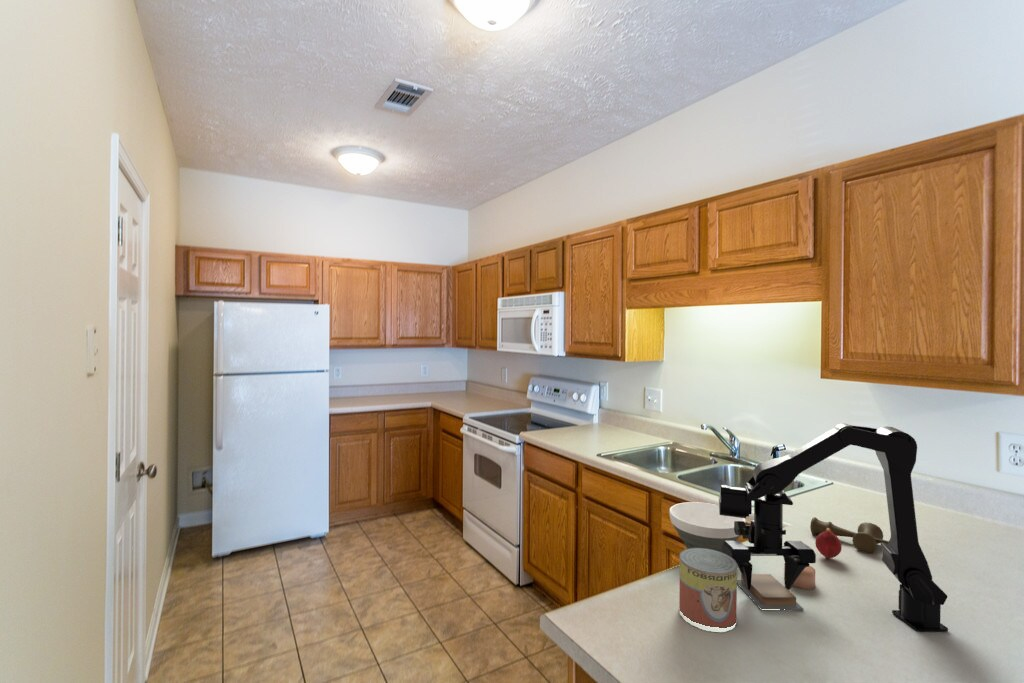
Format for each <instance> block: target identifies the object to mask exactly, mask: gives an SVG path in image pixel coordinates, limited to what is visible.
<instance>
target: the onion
mask: <svg viewBox="0 0 1024 683" xmlns="http://www.w3.org/2000/svg"><path fill="white" fill-rule="evenodd" d="M814 544H815V547H816V549H817V551H818V552H819V554H820V555H822V556H823V557H825V559H828V560H829V559H832V558H835V557H838V556H839V555H840V553H842V550H843V549H842V548H843V547H842V542H841V540H840V538H839V536H836V535H835V534H833V533H832V532H831V530H830V529H829V528H827V529H826V531H825V532H822V533H820V534H817V536H816V538H815V542H814Z"/></svg>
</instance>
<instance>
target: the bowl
mask: <svg viewBox="0 0 1024 683" xmlns="http://www.w3.org/2000/svg"><path fill="white" fill-rule="evenodd" d="M669 517H670V518H669V519H670V522H671V524H672V526H673V527H674V529H675V531H676V532H677V534H678V537H679V538H680V539H681V540H682V541H683V544H684V546H685V548H686V549H689V548H707V549H712V550H716V551H719V552H722V544H723V543H724V541H739V539H740V538H741V537H742V535H736V534H735V531H734V521H744V522H745V523H746V518H739V517H731V516H723V515H719V504H715V503H714V504H713V503H709V502H701V501H700V502H699V501H697V502H696V501H691V502H690V501H689V502H688V501H686V502H681V503H676V504H674V505H672V506H671V507H669ZM722 553H723V552H722Z"/></svg>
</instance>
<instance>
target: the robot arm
mask: <svg viewBox="0 0 1024 683" xmlns="http://www.w3.org/2000/svg"><path fill="white" fill-rule="evenodd" d="M850 446H856V447H860V448H864V449H868V450H872V451H875V454H876V457H877V459H878V461H879V463H880V466H881V468H882V470H883V474H884V475H883V476H884V484H885V493H886V502H887V503H886V504H887V512H888V521H889V529H890V530H889V531H890V538H889V540H888V541H889V542H888V544H887V543H879V544H880V547H881V548H880V549H881V551H882V557H881V561H882V563H883V564H884V565H885V566H886V568H887V569H888V570H889V571H890V572H891V574H892V575H893V576H894V577H895V579H897V581H898V582H899V583H900V584H899V590H898V609H897V610H896V609H892V610H891V613H892V614H893V615H894V616H896V617H897V618H898V619H900V620H901V621H903V622H904V623H905V624H906V625H908V626H909V627H911V628H912V629H913V630H915V631H917V632H948V630H949V627H947V626H945V625H944V624H943V623H941V612H942V611H941V606H943V605H945V603H946V600H947V599H948V594H946V593H945V591H943V589H942V588H940V586H938V585H937V584H936V582H934V580H933V575H932V571H931V570H930V566H929V563H928V560H927V558H926V556H925V554H924V552H923V549H922V547H921V545H920V543H919V534H918V527H917V516H916V508H915V500H914V489H913V483H912V472H913V470H914V467H915V465H916V462H917V454H918V444H917V441H916V439H915V438H914V436H912V435H910V434H909V433H907V432H905V431H903V430H900V429H898V428H895V427H893V426H881V427H879V428H874V427H868V426H860V425H851V424H848V423H839V424H836V425H835V426H834V427H833V428H832V429H830V430H827V431H826V432H825V433H823V434H822V435H819V436H817V437H816V438H815V439H812V440H811V441H809V442H808V443H805V444H804V445H802V446H800V447H799V448H796V449H795V450H794V451H792V452H790V453H788V454H786V455H784V456H779V457H774V458H771V459H769V460H765V461H762V462H760V463H759V464H756V466H754V469H753V471H752V476H751V477H750V478H749V479H748V480H747V481H746V483H744V485H743V487H736V486H729V485H726V484H720V485H719V495H718V505H719V515H723V516H731V517H739V518H745V519H747V517H750V515H752V511H753V519H750V524H746V522H744V521H734V531H735V534H736V535H741V537H742V539H743V540H747V539H748V540H747V542H748V543H749V544H753V546H750V545H749V546H746V545H745V544H744V543H743V542H741V541H740V540H737V541H724V543H723V544H722V552H723V553H725V554H727V555H729V556H730V557H732V558H733V559H734V560H735V561H736V562H737V568H738V569H739V571H740V574H741V575H742V578H743V581H744V583H745V586H746V588H747V589H748V590H750V587H751V578H752V574H753V564H752V563H751V562H750V561H752V557H754V556H755V557H761V556H762V557H763V556H765V557H774V556H775V557H777V556H778V557H780V556H781V557H783V559H784V563H785V579H784V578H783V580H784V587H785V588H786V589H788V590H789V591H790V589H791V588H792V587H793V586H792V585H793V583H794V582H795V580H796V579H797V577H798V576H799V575H800V573H801V572H802V571H803V570H804V569H805V567H809V565H810V566H811V564H816V562H817V554H816V552H815V550H814V549H813V548H812V547H810V546H809V545H807V544H806V543H804V542H803V541H802V540H785V541H784V542H783V535H785V536H786V535H787V530H786V529H785V528H784V527H783V523H784V522H783V519H784V518H783V513H784V512H783V511H784V510H783V508H784V507H783V506H784V505H787V506H793V505H794V502H793V500H792V499H791V497H789V496H788V495H787V494H786V492H785V491H784V490H785V489H786V488H787V487H788V486H790V485H791V484H792V483H793V482H794V480H795V479H796V478H797V477H798V476H799V475H800V474H801V473H803V472H805V471H807V470H808V469H810V468H812V467H813V466H814V465H817V464H818V463H821V462H823V461H824V460H826V459H828V458H829V457H831V456H833V455H835V454H837V453H838V452H840V451H842V450H843V449H845V448H846V447H847V448H848V447H850ZM752 502H753V503H752ZM752 504H753V507H752ZM752 508H753V509H752ZM741 575H740V576H741Z"/></svg>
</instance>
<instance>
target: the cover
mask: <svg viewBox="0 0 1024 683" xmlns="http://www.w3.org/2000/svg"><path fill="white" fill-rule="evenodd" d="M740 577H741V578H740V580H741V582H742V583H743V584H744V585H745V583H744V581H743V578H742V575H740ZM750 591H751V592H752V594H753V595H754V596H755V597H756V598H757V599H758V600H759V601H760V602H761V603H762V604H763V605H764V606H796V602H797V596H796V595H794V594H793V592H791V591H790V590H788V589H786V588H785V585H783V584H782V583H781V582H780V581H779V580H778V579H776V577H774V576H773V575H772V574H771V573H762V574H761V573H757V574H755V573H752V578H751V587H750Z"/></svg>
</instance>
